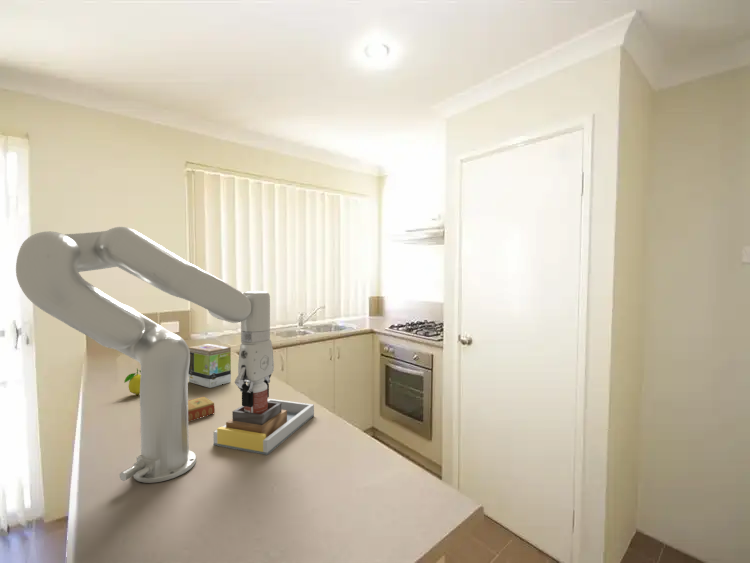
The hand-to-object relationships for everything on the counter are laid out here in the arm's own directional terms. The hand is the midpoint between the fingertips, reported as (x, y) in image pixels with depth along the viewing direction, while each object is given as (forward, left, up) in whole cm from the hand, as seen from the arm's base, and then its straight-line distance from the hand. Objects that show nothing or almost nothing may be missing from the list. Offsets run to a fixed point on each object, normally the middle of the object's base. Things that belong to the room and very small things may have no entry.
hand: (255, 401), depth 96 cm
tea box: (+35, +48, -11) cm, 60 cm away
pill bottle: (0, 0, -4) cm, 4 cm away
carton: (+4, +30, -11) cm, 32 cm away
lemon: (+15, +62, -10) cm, 65 cm away
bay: (+6, 0, -10) cm, 12 cm away
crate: (+1, 0, -9) cm, 9 cm away
